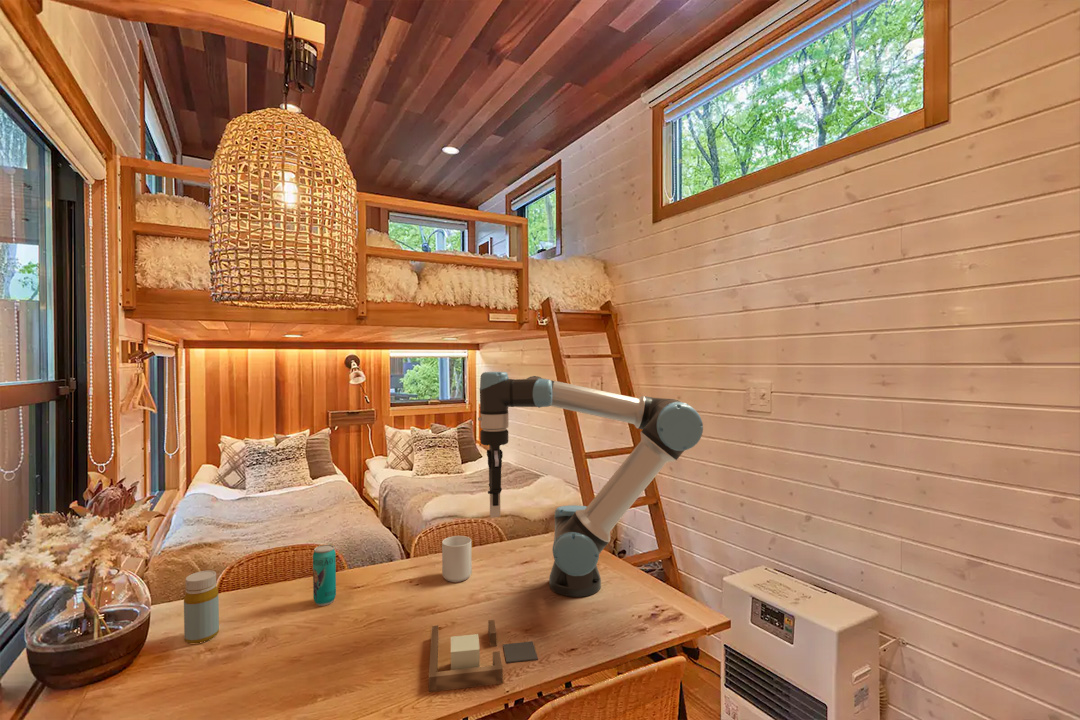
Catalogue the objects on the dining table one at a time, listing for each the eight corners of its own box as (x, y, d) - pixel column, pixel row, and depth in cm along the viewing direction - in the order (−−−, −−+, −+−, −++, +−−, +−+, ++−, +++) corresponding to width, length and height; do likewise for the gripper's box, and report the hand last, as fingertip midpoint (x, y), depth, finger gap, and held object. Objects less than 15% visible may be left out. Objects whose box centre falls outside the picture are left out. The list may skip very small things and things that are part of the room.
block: (478, 660, 115) (478, 634, 115) (479, 677, 109) (479, 649, 109) (451, 663, 114) (450, 636, 114) (450, 680, 108) (450, 652, 108)
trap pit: (532, 642, 122) (532, 641, 122) (537, 659, 115) (537, 658, 115) (503, 645, 121) (503, 644, 121) (506, 663, 114) (506, 661, 114)
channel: (494, 632, 127) (494, 619, 127) (502, 683, 107) (502, 668, 107) (432, 638, 124) (431, 625, 124) (428, 691, 104) (428, 677, 104)
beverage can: (308, 605, 141) (308, 550, 141) (324, 595, 146) (324, 543, 146) (325, 608, 139) (324, 553, 139) (340, 599, 144) (339, 545, 144)
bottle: (225, 632, 127) (224, 571, 127) (198, 647, 121) (197, 583, 121) (205, 627, 130) (204, 568, 130) (177, 642, 123) (176, 579, 123)
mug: (472, 582, 155) (471, 545, 154) (442, 584, 153) (441, 547, 153) (470, 565, 166) (470, 531, 166) (442, 567, 165) (442, 533, 165)
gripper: (478, 426, 145) (479, 510, 145) (481, 433, 132) (482, 525, 132) (505, 425, 146) (506, 508, 146) (511, 432, 133) (512, 523, 134)
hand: (495, 516), depth 139 cm, fingers closed
